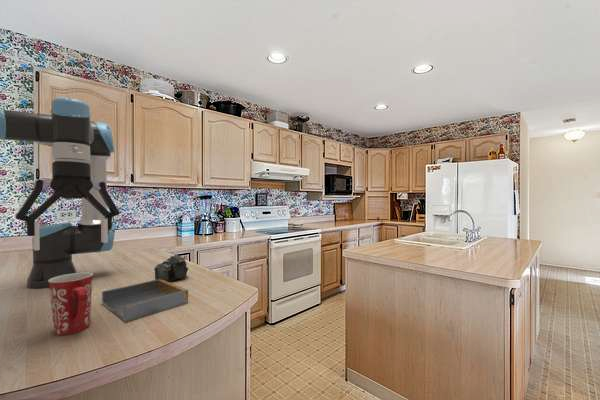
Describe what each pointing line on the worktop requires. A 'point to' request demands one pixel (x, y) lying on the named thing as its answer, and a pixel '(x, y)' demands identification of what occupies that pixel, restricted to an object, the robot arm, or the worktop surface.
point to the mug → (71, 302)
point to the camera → (171, 269)
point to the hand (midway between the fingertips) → (73, 245)
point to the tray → (143, 299)
